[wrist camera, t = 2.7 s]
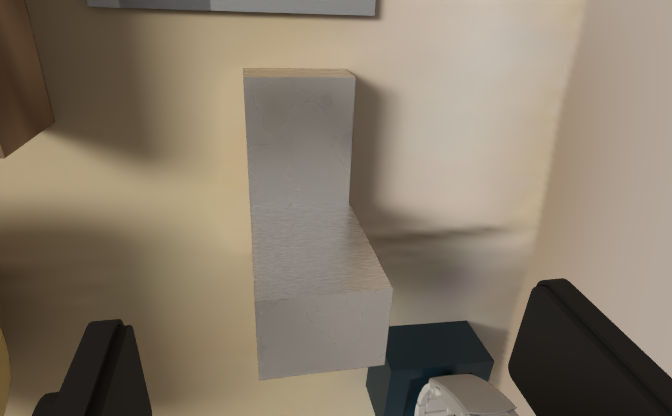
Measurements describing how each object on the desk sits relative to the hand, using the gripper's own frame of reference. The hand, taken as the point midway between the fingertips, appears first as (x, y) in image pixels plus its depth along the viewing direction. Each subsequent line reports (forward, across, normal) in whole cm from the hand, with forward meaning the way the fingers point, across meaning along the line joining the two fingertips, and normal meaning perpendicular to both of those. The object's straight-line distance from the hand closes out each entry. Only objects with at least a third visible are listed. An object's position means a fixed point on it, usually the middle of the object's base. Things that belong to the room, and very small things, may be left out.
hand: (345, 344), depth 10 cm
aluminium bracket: (+10, 0, 0) cm, 10 cm away
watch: (+10, -7, +12) cm, 17 cm away
